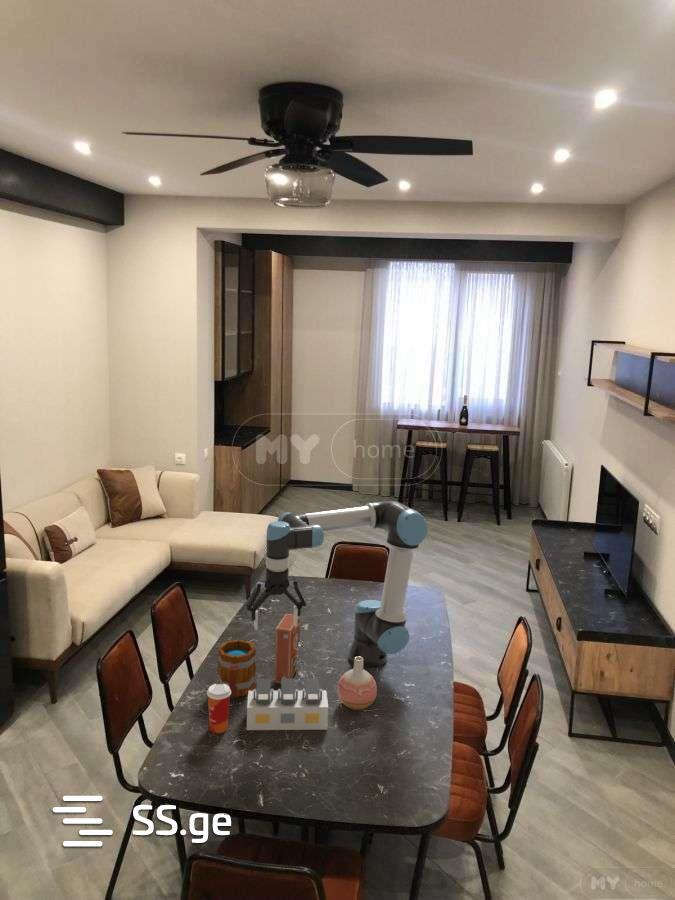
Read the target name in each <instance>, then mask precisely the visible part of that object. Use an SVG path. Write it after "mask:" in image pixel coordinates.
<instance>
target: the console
mask: <svg viewBox="0 0 675 900" xmlns="http://www.w3.org/2000/svg"><path fill="white" fill-rule="evenodd" d="M305 689H306V688H302V690H299V688H295V704H281V688H278V689H277V690H274V688H270V690H271V693H270V704H256V688H254V689H253V690H252V691H248V695H247V705H246V731H281V730H283V731H291V730H293V731H300V730H301V731H302V730H303V731H304V730H305V731H306V730H307V731H308V730H311V731H312V730H313V731H314V730H315V731H316V730H319V731H320V730H322V731H323V730H324V731H325V730H328V726H329V725H328V722H329V721H328V720H329V704H328V703H329V702H328V694H327V690H323V689H322V688H319V689H320V704H306V693H305Z"/></svg>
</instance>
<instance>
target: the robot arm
mask: <svg viewBox="0 0 675 900" xmlns="http://www.w3.org/2000/svg"><path fill="white" fill-rule="evenodd" d="M277 518H278V519H277V521H276V520H275V521H272V522H270V523H269V524H268V525H267V529H266V537H265V538H266V559H265V560H266V561H265V567H266V568H265V580H264V581H265V582H260V581H256V582H255V587H254V590H253V592H252V593H251V595H250V597H249V599H248V601H247V603H246V605H245V608H246V610H247V611H250V612H251V614H250V615H251V616H250V617H251V621H253V622H254V623H253V627H254V630H255V631H258V629H259V628H258V627H259V626H258V624H259V623H258V622H259V610H258V609H259V608H260V607H261V605H262V604H264V602H265V601H266V600H267V598H269V597H270V596H271V595H272V596H276V595H277V596H278V595H279V596H282V595H283V594H284V595H285V596H287V598H288V599H289V600H290V601H291V602H292V604H294V605H293V615H294V617H293V624H294V626H295V627H297V617H299V616H300V617H301V609H302V607H307V603H306V601H305V599H304V597H303V595H302V593H301V591H300V588H299V585H298V581H297V579H296V578H293V579H292V580H289V568H290V567H289V565H290V564H289V561H290V560H289V558H290V551H295V550H302V549H303V550H304V549H314V548H317V547H322V545H323V543H324V540H325V539H324V538H325V536H324V535H325V534H324V533H329V532H335V531H336V532H337V531H344V530H352V529H359V528H366V527H367V528H368V529H370V530H373V529H379V530H384V531H386V533H387V536H386V537H387V539H386V543H387V546H389V550H388V551H389V553H388V559H387V564H386V570H385V576H384V582H383V583H384V584H383V587H382V588H383V589H382V594H381V595H382V596H381V600H377V599H367V600H365V599H364V600H362V601H359V602H358V603H356V605H355V609H354V627H353V629H354V630H353V632H354V633H353V639H352V642H351V645H350V647H349V649H348V657H347V658H348V659H349V661H351V662H352V664H354V659H355V657H358V656H359V657H362V658H363V668H375V667H380V666H383V665H384V664H385V663H387V661H388V655H397V654H398V653H400V652H402V650H403V649H405V648H406V647H407V645H408V643H409V641H410V633H409V631H408V629H407V628H406V623H407V616H406V614H405V613H404V611H405V604H406V597H407V592H408V586H409V581H410V576H411V575H410V574H411V573H410V572H411V567H412V562H413V557H414V552H415V551H416V550H418V548H419V546H420V544H422V542H423V540H425V539H426V538H427V537H426V536H427V535H428V522H427V520H426V518H425V517H424V516H423V515H422V514H421V513H420V512H418V511H417V510H415V509H413V508H410V507H409V506H407V505H405V504H404V503H401V502H400V501H399V502H398V501H394V500H393V501H392V500H387V501H386V500H385V501H375V502H367V503H366V504H365V505H364V506H357V507H349V508H341V509H340V508H339V509H332V510H326V511H325V510H323V511H317V512H310V513H299V514H295V513H293V512H289V511H286V512H283V513H282V514H280V516H278V517H277ZM289 586H291V588H293V589H294V591H295V593H296V595H297V597H298V599H299V601H298V600H297V599H296V597H295V596H294V595H293V594H292V593H291V592H290V591H289V590H288V588H289ZM263 588H265V589H264V591H263V593H262V594H260V593H261V590H262V589H263ZM259 594H260V595H259ZM258 596H259V597H258ZM257 598H258V599H257ZM300 617H299V618H300Z"/></svg>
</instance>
